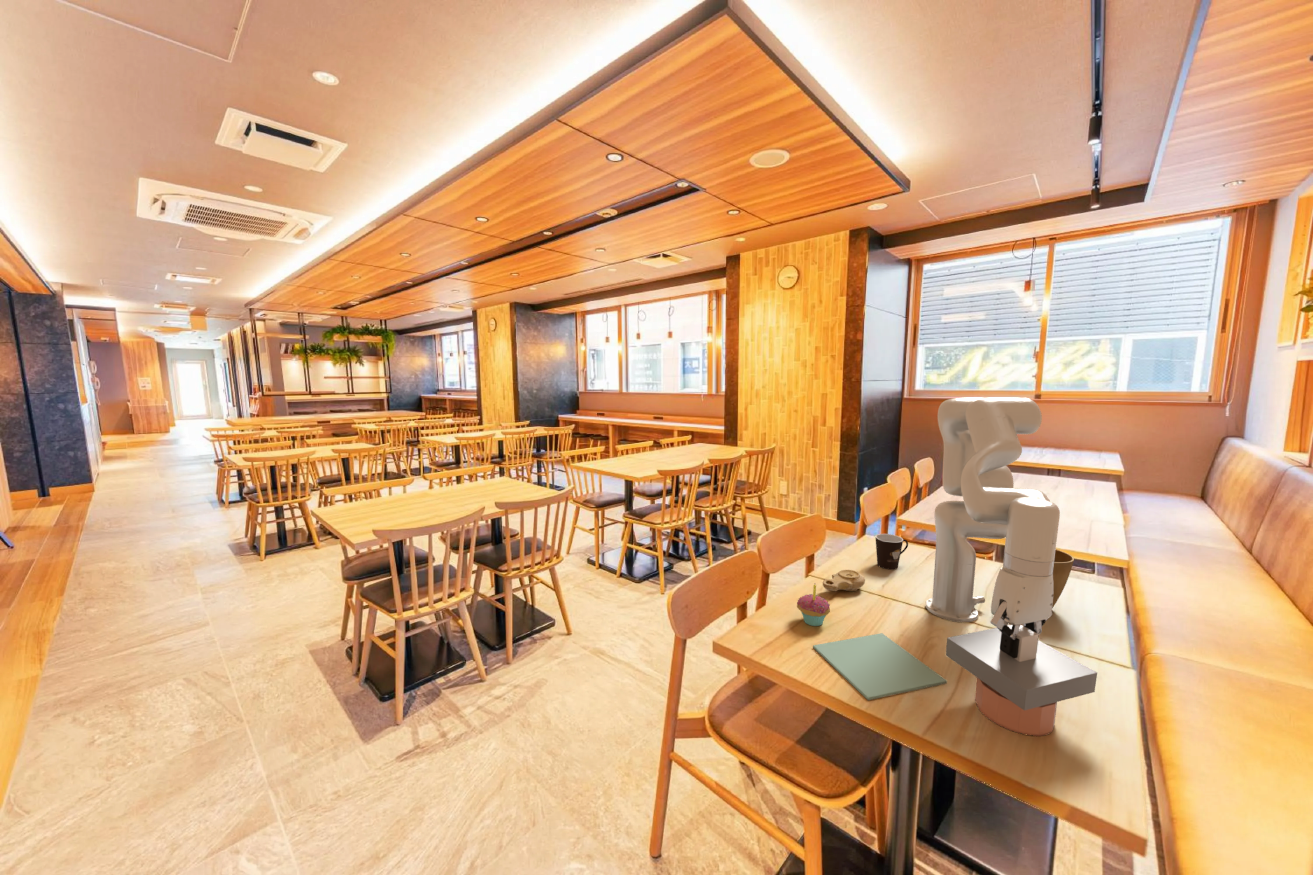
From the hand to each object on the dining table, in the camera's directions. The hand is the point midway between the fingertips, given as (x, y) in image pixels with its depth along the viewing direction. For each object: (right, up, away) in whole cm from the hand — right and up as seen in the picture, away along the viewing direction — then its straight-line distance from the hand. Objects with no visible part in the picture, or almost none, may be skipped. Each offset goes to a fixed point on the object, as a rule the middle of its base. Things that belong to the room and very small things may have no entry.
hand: (1017, 650), depth 95 cm
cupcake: (-28, -8, +37) cm, 47 cm away
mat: (-20, -11, +17) cm, 29 cm away
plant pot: (+37, -7, +44) cm, 58 cm away
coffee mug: (+10, -3, +73) cm, 74 cm away
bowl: (0, -13, +1) cm, 13 cm away
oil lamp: (-13, -6, +55) cm, 57 cm away
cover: (0, -5, +1) cm, 5 cm away
